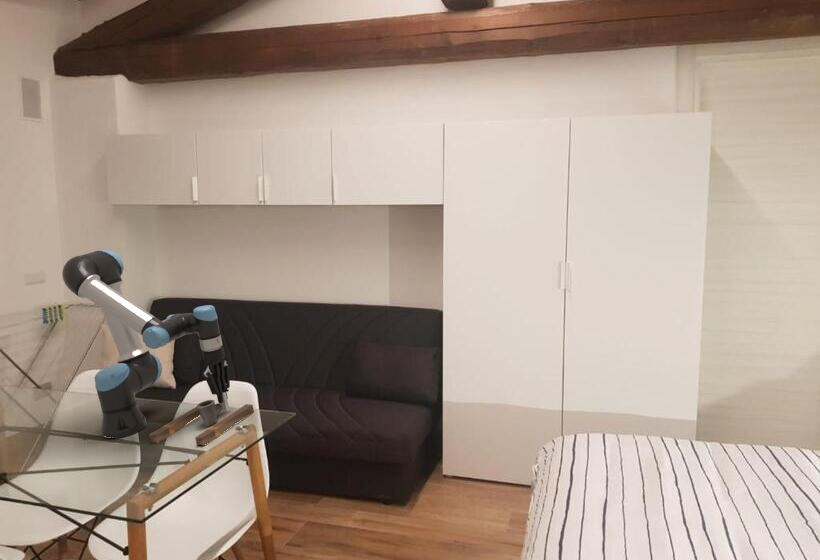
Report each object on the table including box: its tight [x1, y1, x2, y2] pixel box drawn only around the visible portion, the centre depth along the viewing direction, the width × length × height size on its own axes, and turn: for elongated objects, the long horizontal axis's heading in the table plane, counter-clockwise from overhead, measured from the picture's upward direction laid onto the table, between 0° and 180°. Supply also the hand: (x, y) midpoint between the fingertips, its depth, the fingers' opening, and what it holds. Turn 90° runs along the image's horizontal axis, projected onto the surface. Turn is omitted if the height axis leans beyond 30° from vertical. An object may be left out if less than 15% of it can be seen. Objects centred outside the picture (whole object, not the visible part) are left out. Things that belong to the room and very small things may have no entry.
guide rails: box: [149, 403, 255, 446], centre depth 232 cm, size 23×27×3 cm
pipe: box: [196, 399, 223, 427], centre depth 236 cm, size 6×13×8 cm, turn 175°
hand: (225, 409), depth 243 cm, fingers closed
